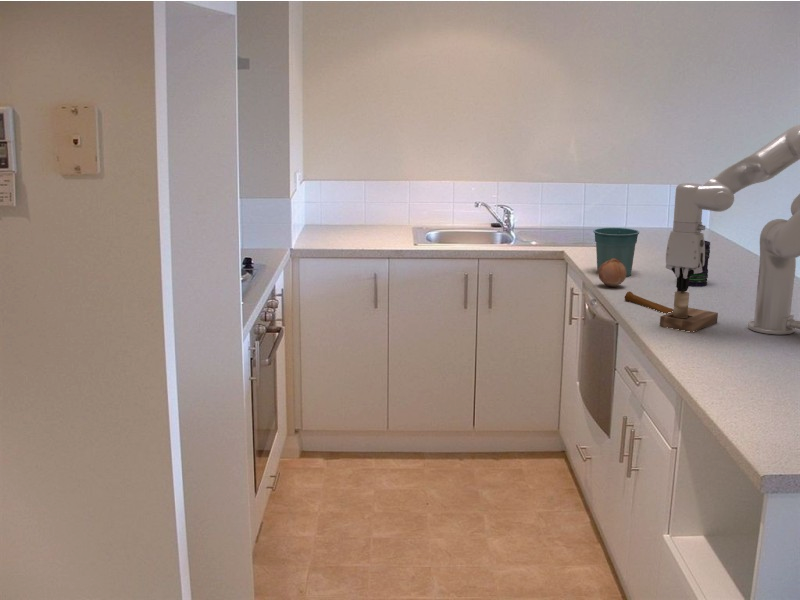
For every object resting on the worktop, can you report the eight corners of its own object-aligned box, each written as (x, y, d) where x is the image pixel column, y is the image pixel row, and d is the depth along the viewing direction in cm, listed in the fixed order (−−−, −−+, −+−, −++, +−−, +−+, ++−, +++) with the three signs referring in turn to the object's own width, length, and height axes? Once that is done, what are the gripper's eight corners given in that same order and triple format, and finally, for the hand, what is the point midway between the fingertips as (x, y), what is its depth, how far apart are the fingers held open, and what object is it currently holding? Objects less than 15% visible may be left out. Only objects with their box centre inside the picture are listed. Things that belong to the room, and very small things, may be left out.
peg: (689, 326, 273) (692, 292, 271) (682, 329, 270) (685, 294, 268) (676, 323, 276) (678, 290, 273) (669, 326, 273) (672, 292, 271)
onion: (616, 283, 331) (618, 255, 328) (630, 289, 322) (632, 260, 320) (592, 285, 328) (593, 256, 325) (606, 290, 319) (608, 261, 317)
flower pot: (607, 280, 336) (609, 235, 332) (582, 271, 351) (584, 228, 347) (645, 277, 342) (649, 233, 338) (619, 268, 357) (622, 226, 353)
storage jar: (713, 284, 330) (716, 242, 326) (694, 288, 324) (698, 245, 321) (690, 279, 338) (693, 238, 334) (671, 282, 332) (675, 240, 329)
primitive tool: (677, 313, 291) (678, 301, 290) (665, 315, 288) (666, 304, 287) (630, 301, 306) (631, 290, 306) (618, 303, 303) (619, 292, 303)
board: (717, 322, 278) (718, 312, 277) (692, 332, 266) (693, 322, 265) (685, 316, 284) (686, 307, 284) (659, 326, 273) (660, 316, 272)
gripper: (718, 229, 264) (712, 293, 268) (668, 223, 274) (664, 285, 278) (706, 232, 259) (700, 297, 263) (656, 226, 269) (651, 289, 273)
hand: (682, 291), depth 271 cm, fingers closed
